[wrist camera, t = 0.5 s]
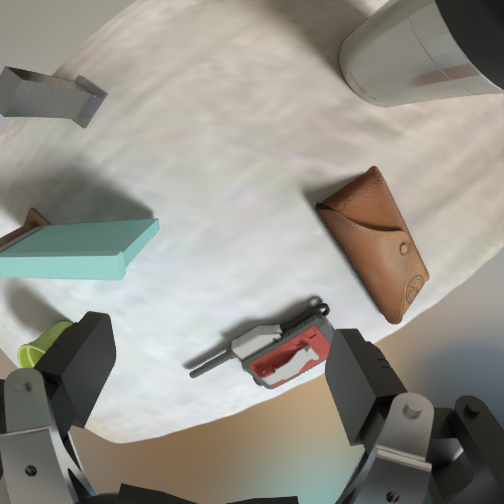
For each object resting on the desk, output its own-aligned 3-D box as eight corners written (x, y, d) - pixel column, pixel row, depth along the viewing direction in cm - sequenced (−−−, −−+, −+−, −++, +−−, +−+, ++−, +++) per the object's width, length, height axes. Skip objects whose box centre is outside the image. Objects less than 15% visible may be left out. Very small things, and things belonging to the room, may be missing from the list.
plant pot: (59, 357, 36) (35, 393, 28) (39, 307, 33) (7, 341, 25) (106, 365, 37) (86, 407, 28) (88, 311, 33) (57, 351, 25)
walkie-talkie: (314, 284, 33) (186, 364, 37) (323, 304, 29) (181, 387, 33) (348, 331, 35) (227, 398, 39) (358, 352, 31) (226, 421, 35)
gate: (44, 237, 28) (-14, 275, 18) (41, 223, 28) (-19, 257, 18) (161, 232, 29) (121, 280, 19) (159, 215, 28) (116, 255, 18)
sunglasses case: (434, 278, 33) (437, 317, 28) (389, 293, 37) (385, 331, 33) (374, 159, 28) (372, 185, 23) (321, 187, 32) (308, 217, 27)
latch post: (82, 76, 23) (6, 55, 11) (107, 93, 24) (31, 74, 12) (62, 110, 24) (-19, 106, 12) (85, 128, 25) (4, 129, 13)
